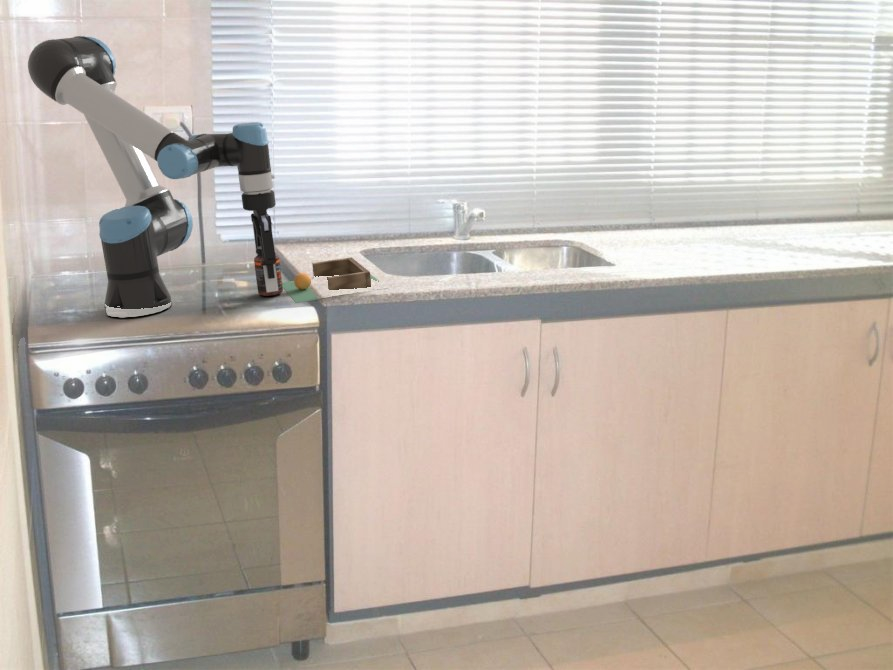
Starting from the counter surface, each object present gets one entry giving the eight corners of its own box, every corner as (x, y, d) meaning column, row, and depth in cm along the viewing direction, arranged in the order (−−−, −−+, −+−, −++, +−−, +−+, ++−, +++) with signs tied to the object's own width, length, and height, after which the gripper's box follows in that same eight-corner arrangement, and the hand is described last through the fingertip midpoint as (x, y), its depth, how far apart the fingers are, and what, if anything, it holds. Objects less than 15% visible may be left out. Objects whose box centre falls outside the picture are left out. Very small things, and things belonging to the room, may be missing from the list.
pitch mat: (296, 304, 256) (296, 302, 255) (279, 284, 275) (279, 282, 275) (388, 289, 262) (388, 287, 262) (365, 271, 281) (365, 269, 281)
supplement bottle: (278, 296, 261) (272, 249, 257) (254, 297, 262) (248, 250, 259) (287, 289, 266) (281, 243, 263) (263, 290, 268) (257, 244, 264)
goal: (330, 294, 260) (328, 278, 259) (313, 278, 276) (312, 263, 275) (371, 288, 263) (369, 272, 262) (353, 272, 279) (351, 257, 278)
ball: (296, 292, 264) (295, 276, 263) (293, 288, 268) (291, 272, 267) (313, 290, 265) (311, 273, 264) (309, 286, 269) (308, 270, 268)
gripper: (281, 194, 249) (293, 294, 256) (266, 183, 267) (278, 277, 273) (247, 199, 247) (260, 299, 254) (235, 187, 264) (248, 282, 271)
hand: (270, 287), depth 264 cm, fingers closed on supplement bottle, 6 cm apart
